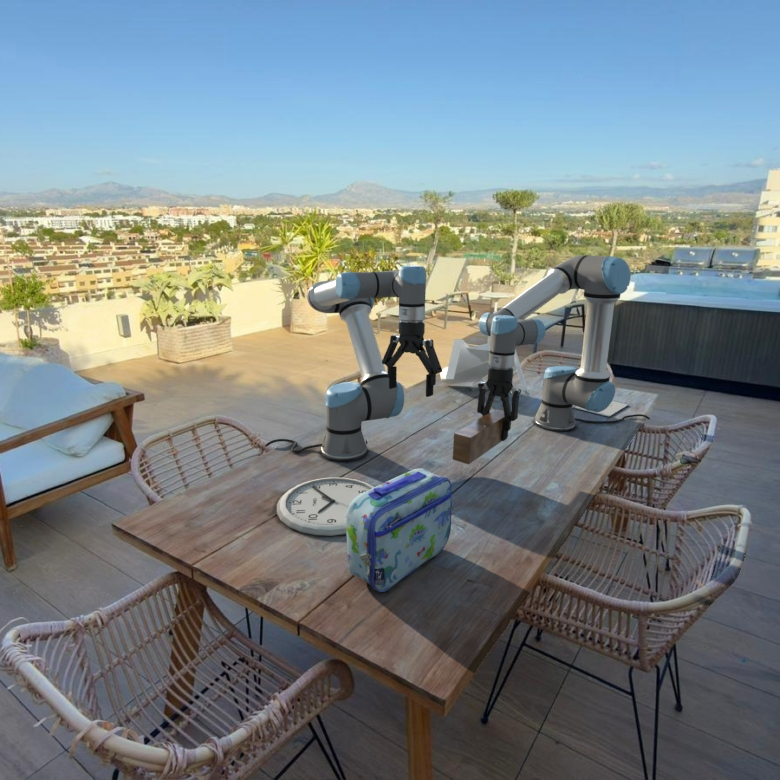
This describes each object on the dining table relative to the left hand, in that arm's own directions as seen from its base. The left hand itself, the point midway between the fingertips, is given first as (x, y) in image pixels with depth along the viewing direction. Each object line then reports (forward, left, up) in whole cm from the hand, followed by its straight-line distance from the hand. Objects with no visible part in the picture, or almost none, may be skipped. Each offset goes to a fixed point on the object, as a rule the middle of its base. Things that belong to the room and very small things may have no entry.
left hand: (410, 391), depth 156 cm
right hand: (+21, +19, -17) cm, 33 cm away
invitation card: (+41, +100, -26) cm, 111 cm away
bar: (+20, +10, -17) cm, 28 cm away
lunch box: (+22, -43, -26) cm, 55 cm away
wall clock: (-7, -30, -26) cm, 40 cm away
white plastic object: (-12, +90, -26) cm, 94 cm away
